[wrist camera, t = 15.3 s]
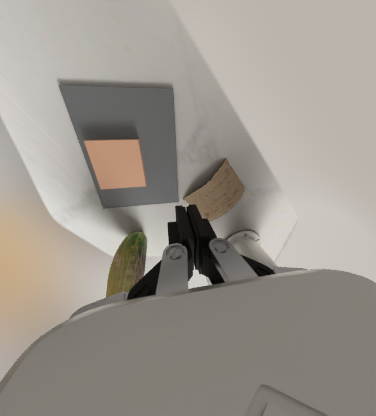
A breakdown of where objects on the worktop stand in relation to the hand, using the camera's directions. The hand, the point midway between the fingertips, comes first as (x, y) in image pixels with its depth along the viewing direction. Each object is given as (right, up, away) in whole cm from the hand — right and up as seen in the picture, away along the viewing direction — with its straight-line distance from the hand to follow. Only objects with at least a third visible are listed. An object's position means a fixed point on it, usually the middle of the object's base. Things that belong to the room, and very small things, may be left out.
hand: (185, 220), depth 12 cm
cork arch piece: (+7, +5, +22) cm, 24 cm away
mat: (-10, +11, +15) cm, 21 cm away
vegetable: (-13, -5, +23) cm, 27 cm away
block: (-8, +9, +14) cm, 18 cm away
